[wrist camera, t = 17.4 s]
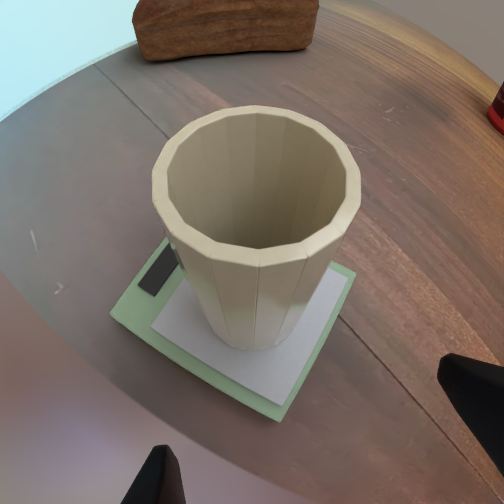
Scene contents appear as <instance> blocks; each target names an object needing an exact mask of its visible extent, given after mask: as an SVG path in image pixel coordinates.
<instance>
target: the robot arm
mask: <svg viewBox="0 0 504 504" xmlns="http://www.w3.org/2000/svg"><path fill="white" fill-rule="evenodd" d="M437 379H438V382H439V383H440V385H441V386H442V388H443V390H444V391H445V393H446V395H447V396H448V398H449V400H450V401H451V403H452V405H453V407H454V408H455V410H456V411H457V413H458V414H459V416H460V417H461V418H462V420H463V421H464V422H465V424H466V425H467V426H468V428H469V429H470V430H471V432H472V433H473V434H474V436H475V437H476V439H477V440H478V441H479V443H480V444H481V446H482V447H483V448H484V450H485V451H486V453H487V454H488V455H489V457H490V458H491V460H492V461H493V462H494V464H495V465H496V467H497V468H498V470H499V471H500V473H501V474H502V476H503V477H504V367H501V366H498V365H494V364H490V363H486V362H483V361H479V360H475V359H472V358H468V357H464V356H461V355H457V354H454V353H449V354H447V355H445V356H443V357H442V358H441V359H440V363H439V368H438V373H437ZM121 504H186V501H185V497H184V490H183V485H182V480H181V474H180V467H179V463H178V460H177V458H176V457H175V455H174V454H173V452H172V450H171V449H170V447H169V446H168V445H158V446H155V447H153V449H152V451H151V452H150V454H149V456H148V458H147V459H146V461H145V463H144V464H143V466H142V468H141V470H140V471H139V473H138V475H137V476H136V478H135V480H134V482H133V483H132V485H131V487H130V488H129V490H128V492H127V494H126V495H125V497H124V499H123V500H122V502H121Z"/></svg>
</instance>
